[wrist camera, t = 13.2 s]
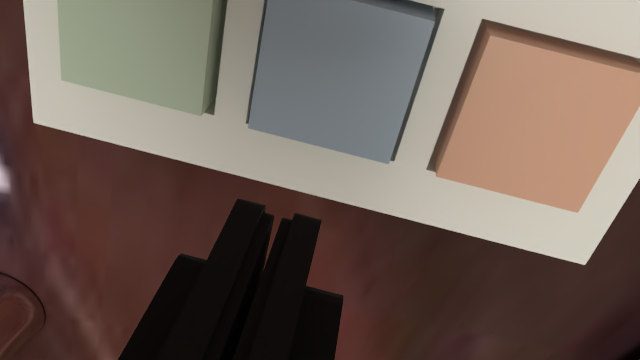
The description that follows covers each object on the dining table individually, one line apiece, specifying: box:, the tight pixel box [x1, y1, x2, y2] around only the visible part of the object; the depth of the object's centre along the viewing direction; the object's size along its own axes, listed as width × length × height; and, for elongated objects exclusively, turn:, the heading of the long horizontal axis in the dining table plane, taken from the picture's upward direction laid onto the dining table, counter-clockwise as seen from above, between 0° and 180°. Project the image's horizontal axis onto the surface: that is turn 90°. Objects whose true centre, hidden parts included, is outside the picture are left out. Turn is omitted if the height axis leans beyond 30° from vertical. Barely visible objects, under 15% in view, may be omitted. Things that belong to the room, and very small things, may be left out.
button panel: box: [23, 0, 640, 265], centre depth 23 cm, size 12×26×4 cm, turn 78°
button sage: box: [57, 0, 227, 116], centre depth 22 cm, size 6×6×2 cm
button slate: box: [248, 0, 435, 164], centre depth 22 cm, size 6×6×2 cm
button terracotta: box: [434, 19, 640, 213], centre depth 22 cm, size 6×6×2 cm
